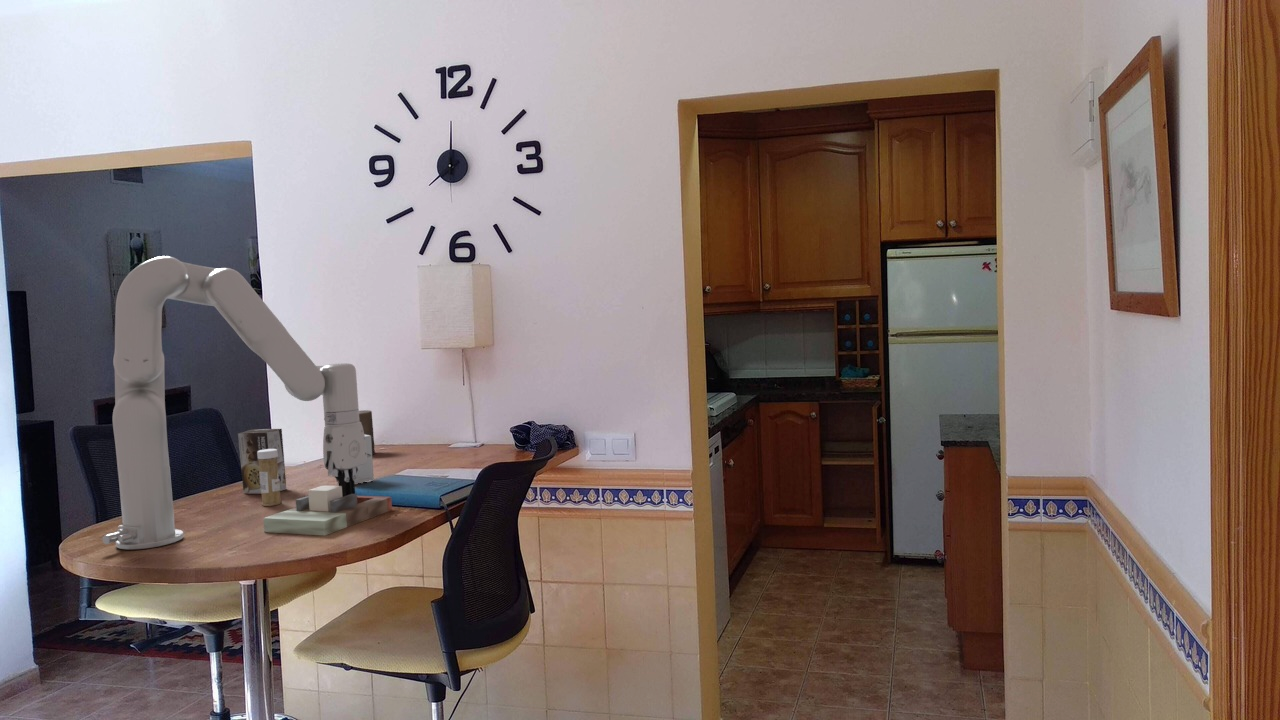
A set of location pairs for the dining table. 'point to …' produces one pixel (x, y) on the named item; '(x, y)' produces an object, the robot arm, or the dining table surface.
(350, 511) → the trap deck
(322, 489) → the cream block
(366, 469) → the supplement box
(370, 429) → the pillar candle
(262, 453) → the sprinkles bottle
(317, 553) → the dining table surface
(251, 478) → the coffee box
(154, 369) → the robot arm
